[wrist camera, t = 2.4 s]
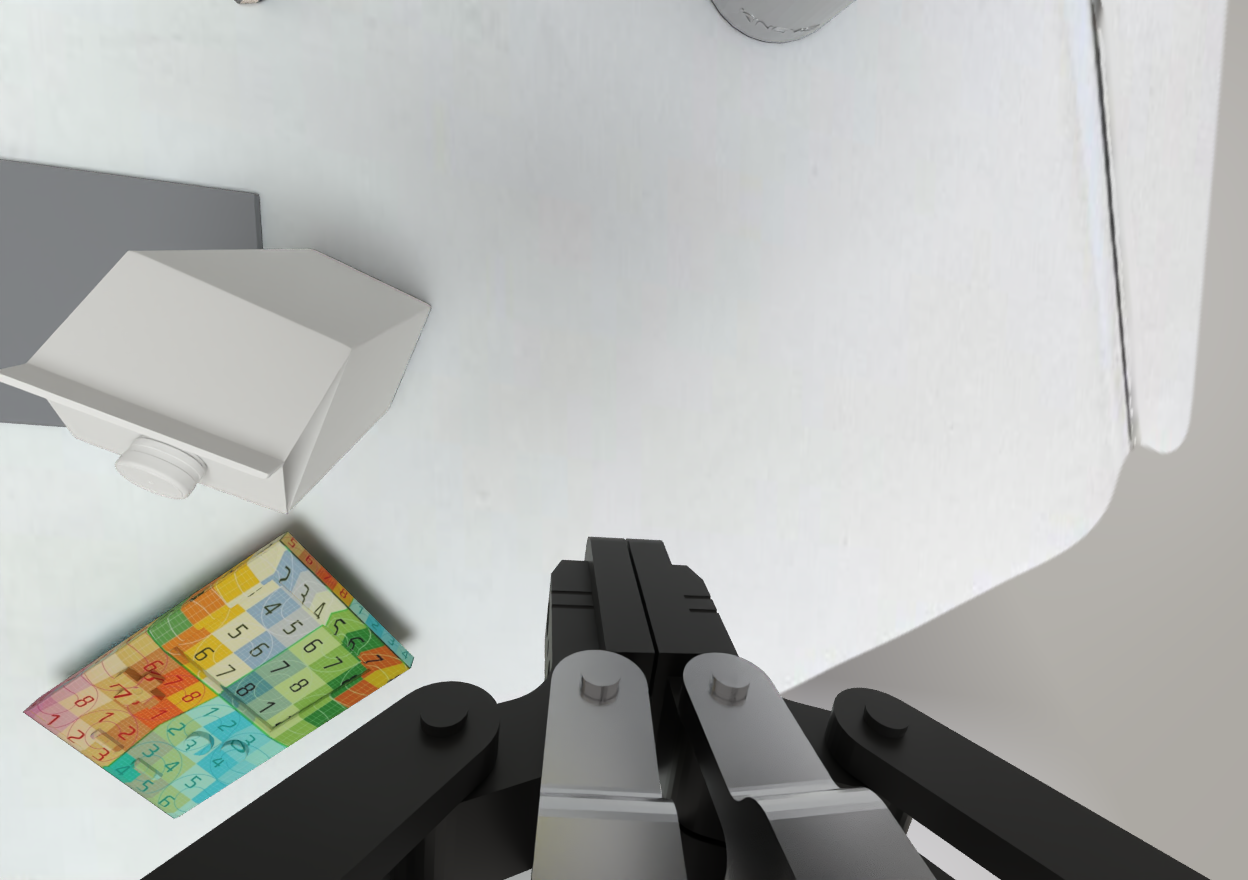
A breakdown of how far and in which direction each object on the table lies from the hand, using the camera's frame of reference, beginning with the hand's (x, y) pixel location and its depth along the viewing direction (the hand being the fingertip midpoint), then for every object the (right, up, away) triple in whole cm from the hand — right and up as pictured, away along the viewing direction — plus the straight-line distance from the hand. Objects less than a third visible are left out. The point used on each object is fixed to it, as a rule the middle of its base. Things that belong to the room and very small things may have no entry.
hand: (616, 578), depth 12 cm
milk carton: (-16, +9, +22) cm, 29 cm away
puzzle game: (-26, -12, +29) cm, 40 cm away
